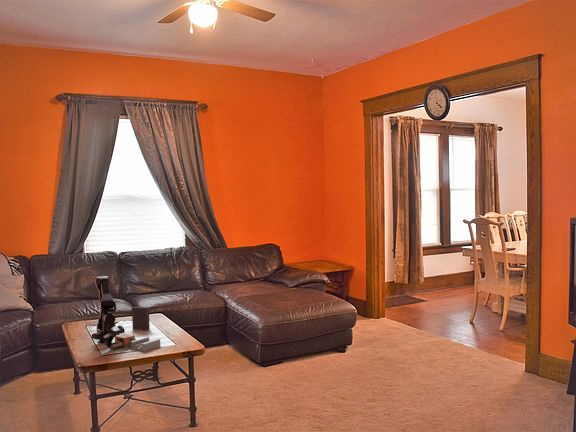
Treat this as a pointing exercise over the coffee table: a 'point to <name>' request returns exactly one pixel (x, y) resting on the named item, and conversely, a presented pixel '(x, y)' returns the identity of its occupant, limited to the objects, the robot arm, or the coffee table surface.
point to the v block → (145, 344)
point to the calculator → (140, 318)
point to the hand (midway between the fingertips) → (108, 348)
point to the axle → (116, 345)
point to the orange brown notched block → (125, 339)
